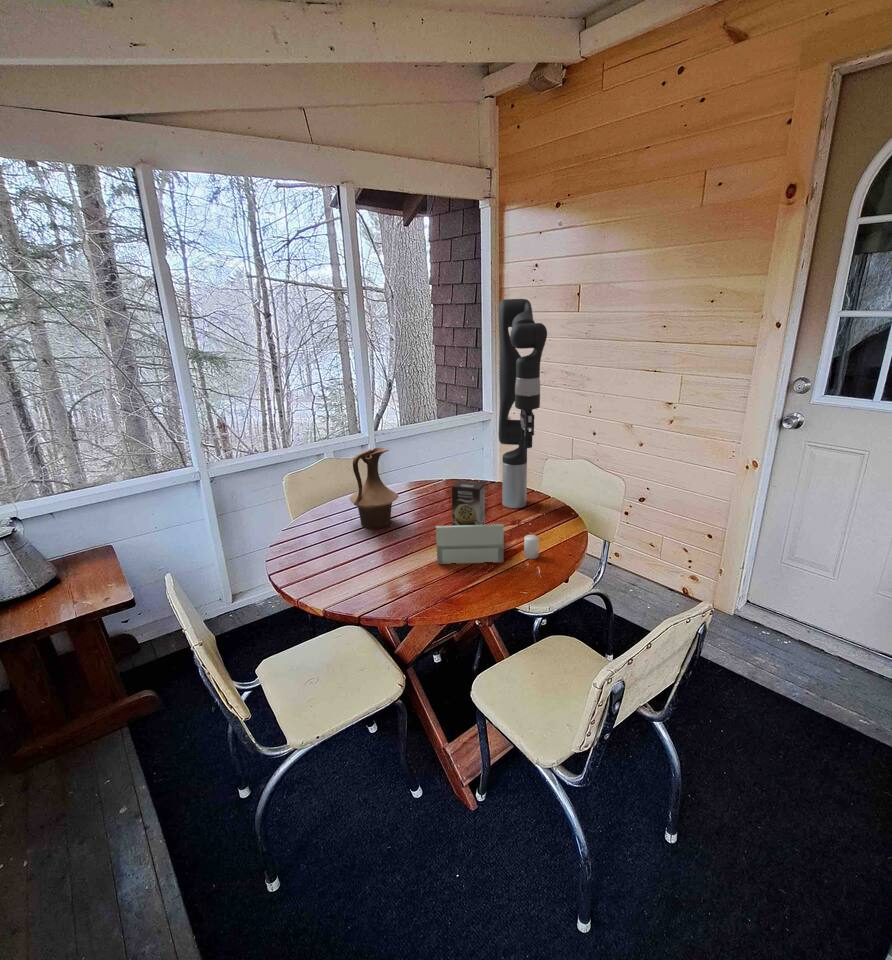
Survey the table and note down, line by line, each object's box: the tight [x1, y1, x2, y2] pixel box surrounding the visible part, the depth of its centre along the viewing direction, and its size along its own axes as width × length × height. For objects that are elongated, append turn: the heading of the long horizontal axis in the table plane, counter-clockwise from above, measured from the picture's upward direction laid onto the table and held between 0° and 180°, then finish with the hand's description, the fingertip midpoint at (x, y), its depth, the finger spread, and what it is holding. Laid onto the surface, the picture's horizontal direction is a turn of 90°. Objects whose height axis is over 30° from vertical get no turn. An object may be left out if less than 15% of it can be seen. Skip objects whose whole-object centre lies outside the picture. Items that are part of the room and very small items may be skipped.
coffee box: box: [451, 480, 486, 526], centre depth 159 cm, size 9×6×16 cm
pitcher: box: [349, 447, 399, 530], centre depth 182 cm, size 18×17×28 cm
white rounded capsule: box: [523, 534, 540, 560], centre depth 158 cm, size 4×4×6 cm
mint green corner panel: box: [435, 523, 505, 565], centre depth 160 cm, size 14×20×12 cm
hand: (526, 443), depth 161 cm, fingers open, 8 cm apart
